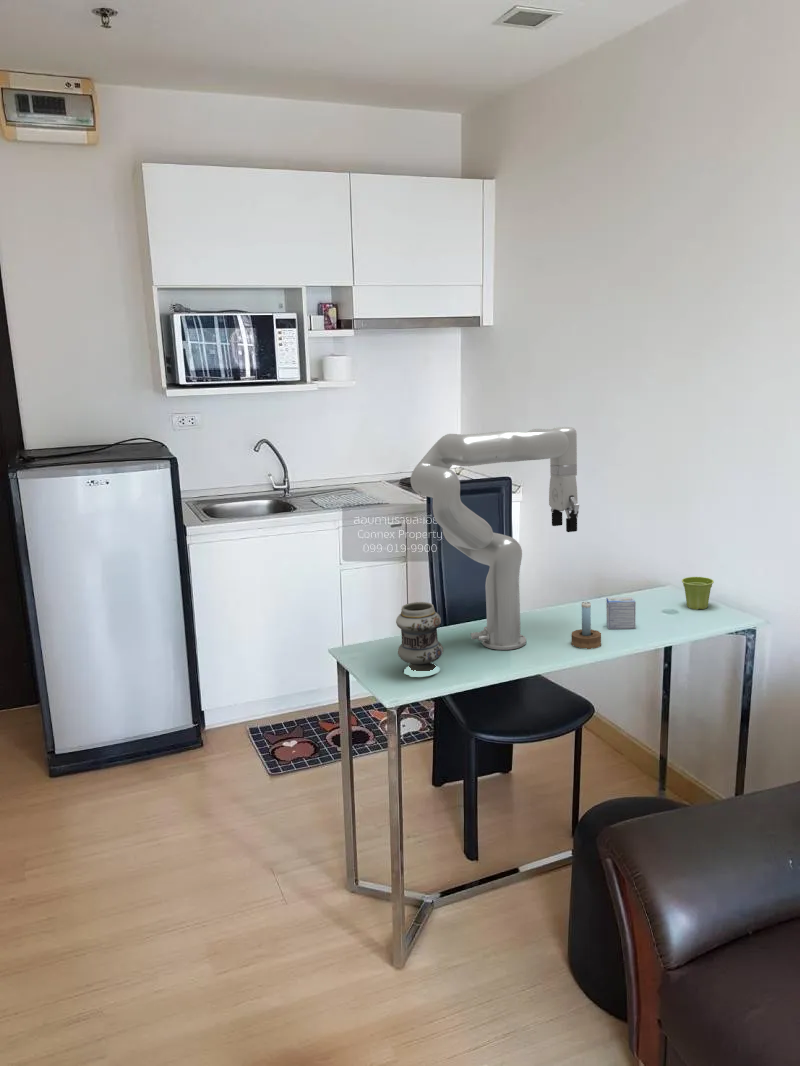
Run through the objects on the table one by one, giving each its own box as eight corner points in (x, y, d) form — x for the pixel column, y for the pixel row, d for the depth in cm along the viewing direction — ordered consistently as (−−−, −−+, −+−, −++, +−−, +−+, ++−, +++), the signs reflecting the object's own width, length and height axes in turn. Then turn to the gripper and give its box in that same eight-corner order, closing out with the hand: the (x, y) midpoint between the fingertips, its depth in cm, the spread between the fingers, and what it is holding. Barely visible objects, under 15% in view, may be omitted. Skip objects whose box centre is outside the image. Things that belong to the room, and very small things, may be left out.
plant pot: (703, 613, 249) (704, 586, 248) (675, 607, 256) (676, 581, 254) (718, 606, 255) (719, 579, 254) (690, 601, 262) (691, 575, 261)
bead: (579, 650, 224) (579, 640, 223) (566, 641, 231) (566, 631, 231) (606, 646, 226) (606, 636, 225) (592, 637, 233) (592, 627, 233)
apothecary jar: (418, 659, 223) (414, 597, 220) (453, 668, 216) (450, 603, 212) (389, 673, 214) (385, 608, 211) (424, 683, 207) (421, 615, 203)
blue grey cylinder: (584, 645, 227) (584, 604, 225) (580, 643, 229) (579, 602, 227) (592, 644, 228) (592, 603, 225) (588, 641, 230) (588, 601, 228)
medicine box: (633, 624, 243) (633, 596, 241) (635, 629, 239) (635, 600, 237) (606, 624, 244) (606, 597, 242) (608, 629, 239) (608, 601, 238)
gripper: (539, 468, 241) (540, 524, 245) (564, 475, 225) (565, 535, 228) (562, 466, 243) (563, 522, 246) (589, 472, 226) (589, 532, 230)
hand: (564, 528), depth 237 cm, fingers open, 9 cm apart
